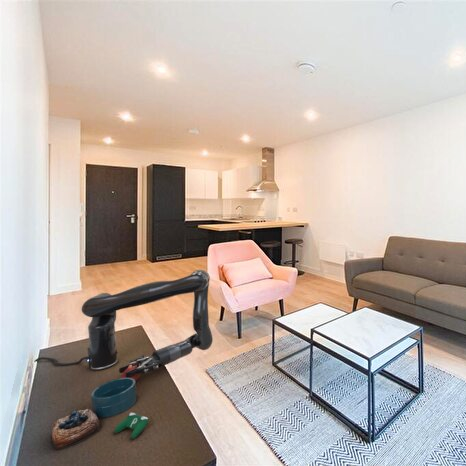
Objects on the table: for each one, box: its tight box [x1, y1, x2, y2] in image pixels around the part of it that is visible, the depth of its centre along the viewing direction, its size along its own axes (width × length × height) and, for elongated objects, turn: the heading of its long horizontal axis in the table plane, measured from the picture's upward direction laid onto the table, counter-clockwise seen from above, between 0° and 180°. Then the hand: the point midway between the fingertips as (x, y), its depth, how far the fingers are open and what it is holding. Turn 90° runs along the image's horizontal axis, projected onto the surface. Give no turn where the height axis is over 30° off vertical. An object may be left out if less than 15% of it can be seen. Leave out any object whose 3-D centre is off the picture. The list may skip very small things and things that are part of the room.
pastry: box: [51, 408, 100, 450], centre depth 93 cm, size 11×12×6 cm
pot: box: [91, 377, 137, 419], centre depth 106 cm, size 12×12×7 cm
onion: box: [121, 365, 140, 382], centre depth 119 cm, size 6×6×8 cm
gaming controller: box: [114, 412, 149, 440], centre depth 95 cm, size 9×4×6 cm
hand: (122, 372), depth 117 cm, fingers closed on onion, 5 cm apart
